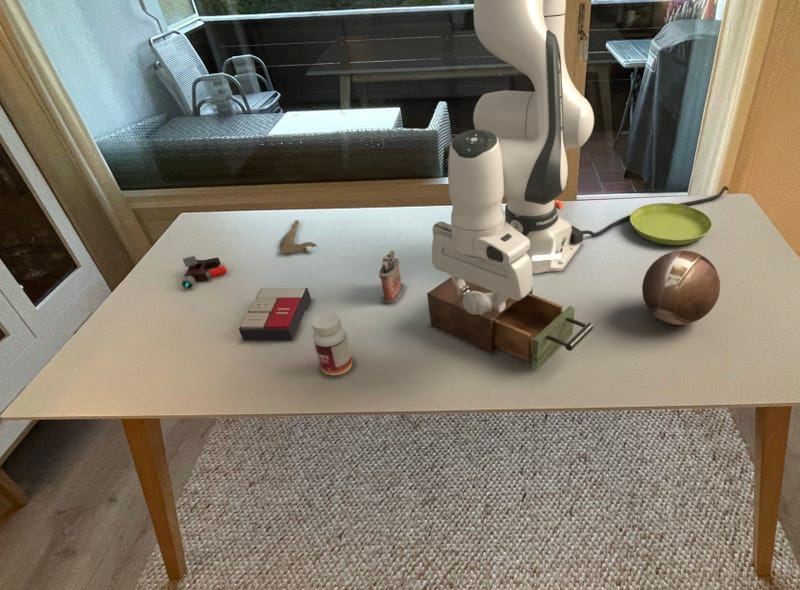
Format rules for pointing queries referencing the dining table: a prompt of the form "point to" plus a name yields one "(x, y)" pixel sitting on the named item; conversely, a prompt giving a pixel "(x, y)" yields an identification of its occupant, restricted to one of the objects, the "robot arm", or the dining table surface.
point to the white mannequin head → (479, 302)
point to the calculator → (275, 314)
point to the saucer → (670, 223)
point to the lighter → (391, 278)
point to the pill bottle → (331, 344)
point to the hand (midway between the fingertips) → (481, 302)
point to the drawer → (537, 329)
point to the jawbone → (289, 244)
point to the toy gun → (201, 270)
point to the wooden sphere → (681, 287)
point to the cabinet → (463, 315)
